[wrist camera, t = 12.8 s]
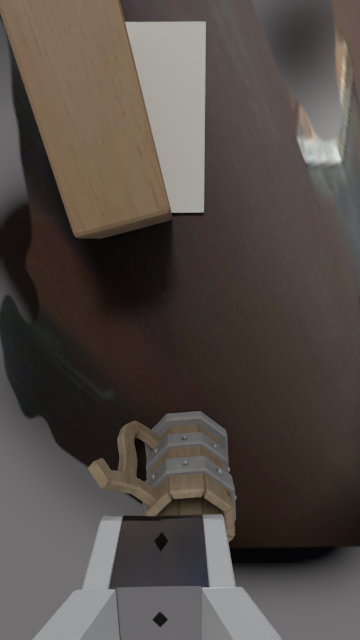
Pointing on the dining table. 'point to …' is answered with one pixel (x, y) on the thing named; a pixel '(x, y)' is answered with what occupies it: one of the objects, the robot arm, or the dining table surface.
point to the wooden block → (89, 112)
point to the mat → (174, 103)
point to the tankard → (175, 468)
